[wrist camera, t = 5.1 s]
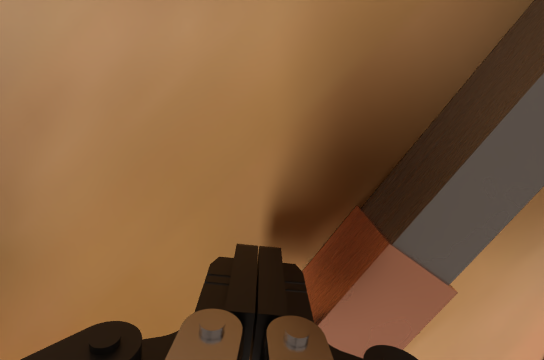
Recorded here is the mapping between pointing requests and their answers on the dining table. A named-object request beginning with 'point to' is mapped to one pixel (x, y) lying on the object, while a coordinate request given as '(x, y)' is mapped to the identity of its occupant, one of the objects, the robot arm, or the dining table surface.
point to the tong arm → (437, 203)
